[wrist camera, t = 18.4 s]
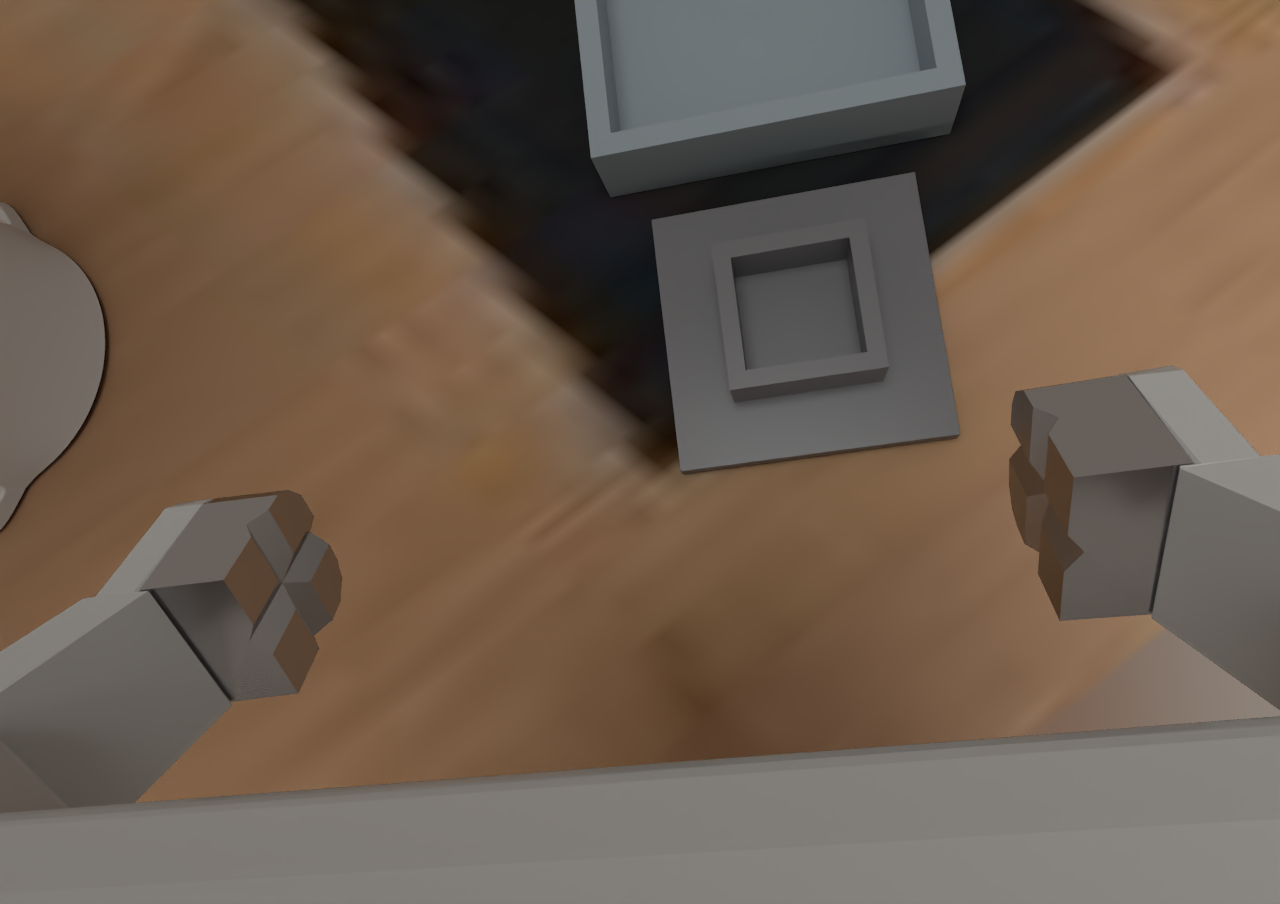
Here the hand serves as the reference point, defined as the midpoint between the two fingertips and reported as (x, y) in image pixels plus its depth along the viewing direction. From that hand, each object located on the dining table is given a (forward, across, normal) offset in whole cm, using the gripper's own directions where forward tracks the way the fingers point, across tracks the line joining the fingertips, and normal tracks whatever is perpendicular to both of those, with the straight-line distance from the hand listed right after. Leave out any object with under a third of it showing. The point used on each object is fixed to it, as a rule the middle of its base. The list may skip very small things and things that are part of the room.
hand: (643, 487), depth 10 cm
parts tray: (+42, -3, -1) cm, 42 cm away
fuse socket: (+28, -3, +13) cm, 31 cm away
